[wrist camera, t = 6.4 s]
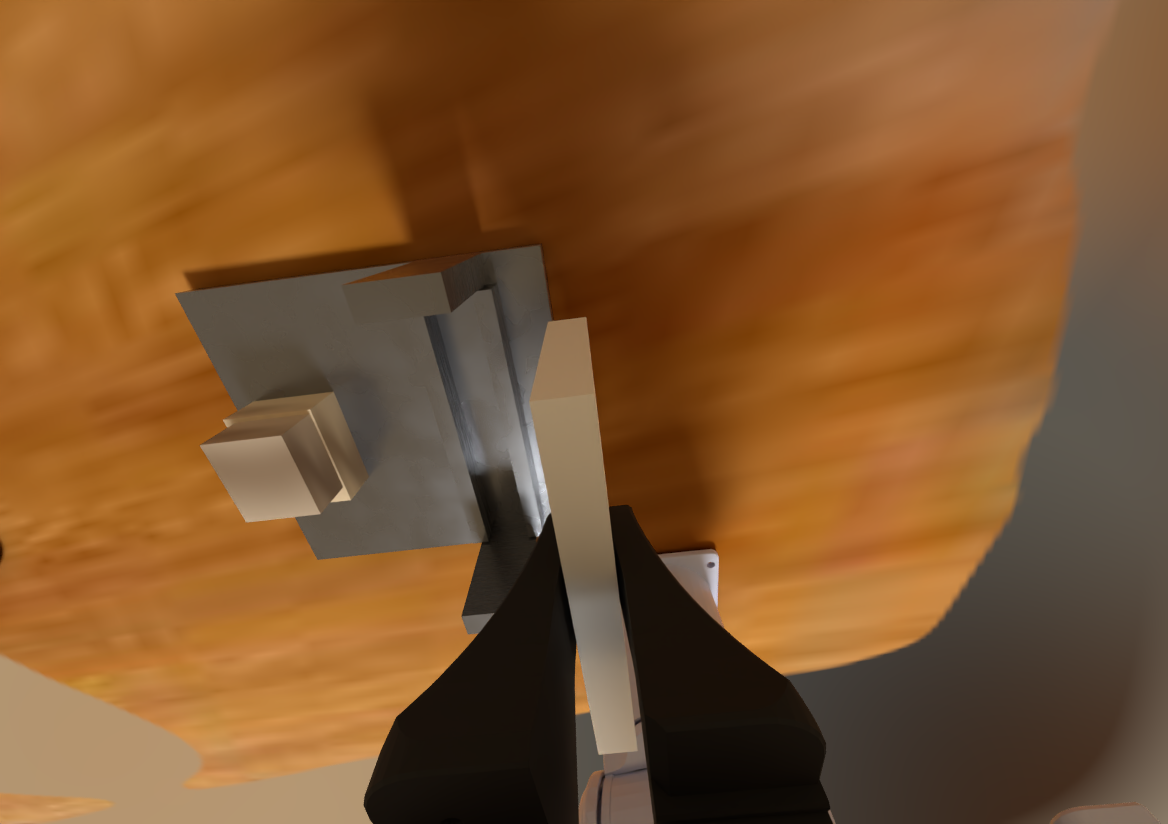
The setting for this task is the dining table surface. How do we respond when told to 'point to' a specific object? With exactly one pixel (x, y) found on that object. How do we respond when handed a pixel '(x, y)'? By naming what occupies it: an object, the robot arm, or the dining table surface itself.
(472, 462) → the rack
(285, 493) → the offcut top
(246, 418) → the block
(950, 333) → the dining table surface
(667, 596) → the robot arm
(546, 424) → the cream rectangular block
